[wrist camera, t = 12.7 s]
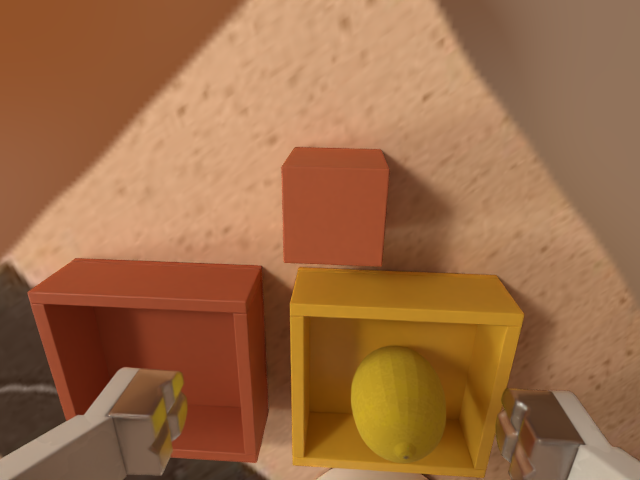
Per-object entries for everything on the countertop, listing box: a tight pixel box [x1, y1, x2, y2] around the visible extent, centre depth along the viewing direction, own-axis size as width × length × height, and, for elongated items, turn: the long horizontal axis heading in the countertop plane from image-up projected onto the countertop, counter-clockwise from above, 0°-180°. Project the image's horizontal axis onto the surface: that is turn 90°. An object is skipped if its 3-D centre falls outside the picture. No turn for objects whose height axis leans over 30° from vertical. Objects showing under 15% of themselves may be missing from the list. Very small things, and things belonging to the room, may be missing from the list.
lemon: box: [351, 346, 446, 463], centre depth 24 cm, size 6×6×8 cm
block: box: [281, 147, 390, 266], centre depth 22 cm, size 5×5×5 cm
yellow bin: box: [290, 267, 524, 478], centre depth 26 cm, size 13×13×4 cm
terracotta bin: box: [28, 258, 269, 463], centre depth 27 cm, size 13×13×4 cm
